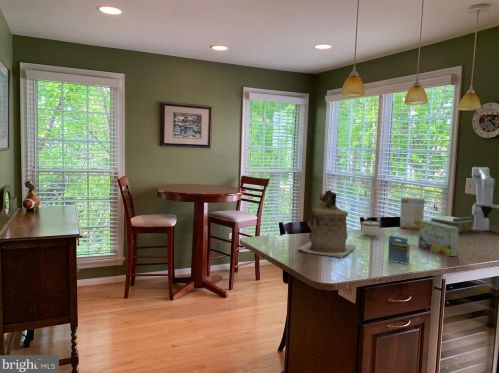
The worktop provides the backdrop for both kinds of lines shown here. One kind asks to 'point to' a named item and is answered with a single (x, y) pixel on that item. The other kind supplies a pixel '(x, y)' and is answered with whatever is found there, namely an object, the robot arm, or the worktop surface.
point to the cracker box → (411, 212)
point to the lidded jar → (370, 228)
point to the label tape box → (398, 249)
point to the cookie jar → (328, 229)
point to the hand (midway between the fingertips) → (486, 217)
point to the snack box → (438, 237)
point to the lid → (454, 219)
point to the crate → (457, 225)
